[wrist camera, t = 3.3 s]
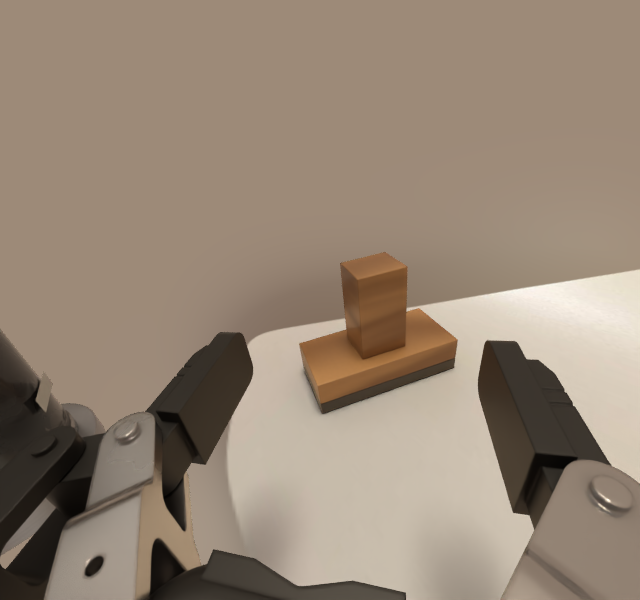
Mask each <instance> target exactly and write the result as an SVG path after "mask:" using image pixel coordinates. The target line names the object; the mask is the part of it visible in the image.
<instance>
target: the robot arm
mask: <svg viewBox="0 0 640 600" xmlns="http://www.w3.org/2000/svg"><path fill="white" fill-rule="evenodd" d="M252 375H253V364H252V361H251V358H250V355H249V351H248V348H247V345H246V342H245V339H244V336H243V335H242V334H241V333H233V332H232V333H231V332H220V333H218V334H217V335H216V337H215V338H214V339H213V340H212V342H211V343H210V344H209V345H208V346H205V347H203V348H202V349H201V350H199V351H198V352H196V353H195V354H194V355H193V356H192V357H191V358H190V359H189V360H188V362H187V363H186V364H185V366H184V368H182V369H181V370H180V371H179V372H178V373H177V376H176V377H174V378H173V379H172V381H171V382H170V383H169V384H168V385H167V387H166V388H165V389H164V390H163V391H162V393H161V394H160V395H159V396H158V397H157V398H156V400H155V401H154V402H153V403H152V404H151V406H150V407H149V408H148V409H147V410H146V411H145V412H138V413H134V414H131V415H128V416H126V417H124V418H123V419H121V420H119V421H118V422H116V423H115V424H114V425H112V426H111V427H110V428H109V429H108V430H107V432H106V433H102V434H96V435H91V436H86V437H81V436H80V435H79V433H78V424H77V422H76V420H75V419H74V418H73V417H72V415H71V414H70V413H69V412H68V411H67V410H65V409H64V408H63V407H62V405H61V404H60V403H59V402H58V400H57V399H56V398H55V397H54V395H53V394H52V393H51V388H52V382H51V380H50V379H49V378H48V377H47V375H46V374H45V373H43V376H42V379H40V378H39V377H38V375H37V374H36V373H35V371H34V370H33V369H32V368H31V367H30V365H29V364H28V363H27V362H26V360H25V359H24V358H23V357H22V355H21V354H20V353H19V352H18V350H17V349H16V348H15V347H14V345H13V344H12V343H11V342H10V341H9V339H8V338H7V337H6V336H5V334H4V333H3V332H2V331H1V329H0V556H1V553H2V550H3V548H4V547H5V545H6V543H7V542H8V541H9V540H10V539H11V537H12V536H13V535H14V534H15V533H16V532H17V530H18V529H19V528H20V527H21V526H22V525H23V523H24V522H25V521H26V520H27V519H28V518H29V516H30V515H31V514H32V513H33V512H34V511H35V509H36V508H37V507H38V506H39V505H40V504H41V503H42V501H43V500H44V499H45V498H46V499H47V500H48V501H49V502H50V503H51V504H52V505H53V506H55V507H56V508H55V510H54V511H53V512H52V513H51V514H50V516H49V517H48V518H47V519H46V521H45V522H44V523H43V524H42V526H41V527H40V528H39V529H38V530H37V532H36V533H35V534H34V535H33V537H32V538H31V539H30V540H29V542H28V543H27V544H26V545H25V546H24V548H23V549H22V550H21V551H20V553H19V554H18V555H17V556H16V558H15V559H14V560H13V561H12V562H11V564H10V565H9V566H8V567H7V568H6V569H4V568H2V566H1V565H0V600H406V593H405V592H400V591H396V590H391V589H387V588H382V587H378V586H374V585H369V584H365V583H360V582H356V581H346V582H337V583H329V584H320V585H312V586H297V585H295V584H293V583H291V582H290V581H288V580H287V579H285V578H284V577H282V576H281V575H279V574H278V573H276V572H275V571H273V570H272V569H270V568H269V567H267V566H265V565H264V564H262V563H261V562H259V561H258V560H256V559H254V558H250V557H245V556H240V555H236V554H232V553H227V552H223V551H219V550H213V552H212V554H211V556H210V559H209V561H208V564H206V565H202V566H201V562H200V558H199V554H198V551H197V548H196V546H195V542H194V537H193V527H192V514H191V502H190V488H189V477H188V474H187V472H186V471H187V469H188V467H189V466H190V464H191V463H197V464H204V465H205V464H206V463H207V461H208V459H209V457H210V455H211V454H212V452H213V450H214V448H215V446H216V444H217V443H218V441H219V439H220V437H221V435H222V433H223V431H224V430H225V428H226V426H227V424H228V422H229V420H230V419H231V417H232V415H233V413H234V411H235V409H236V408H237V406H238V404H239V402H240V400H241V398H242V397H243V395H244V393H245V391H246V389H247V387H248V386H249V384H250V382H251V379H252ZM478 392H479V398H480V402H481V405H482V408H483V412H484V415H485V419H486V422H487V425H488V429H489V432H490V436H491V439H492V442H493V446H494V449H495V453H496V456H497V459H498V463H499V466H500V470H501V473H502V477H503V480H504V483H505V487H506V490H507V494H508V497H509V500H510V504H511V507H512V511H513V513H518V514H525V515H530V518H531V521H532V524H533V527H534V532H533V534H532V537H531V539H530V541H529V543H528V545H527V547H526V549H525V551H524V553H523V555H522V557H521V559H520V561H519V563H518V565H517V567H516V569H515V571H514V573H513V575H512V577H511V579H510V581H509V583H508V585H507V587H506V589H505V591H504V594H503V596H502V598H501V600H640V484H639V483H638V482H637V481H636V480H634V479H633V478H631V477H630V476H629V475H627V474H626V473H624V472H622V471H620V470H619V469H616V468H614V467H612V466H611V464H610V463H609V461H608V460H607V458H606V457H605V455H604V453H603V452H602V450H601V448H600V447H599V445H598V444H597V442H596V440H595V439H594V437H593V435H592V434H591V432H590V430H589V429H588V427H587V426H586V424H585V422H584V421H583V419H582V417H581V416H580V414H579V412H578V411H577V409H576V408H575V406H573V403H572V401H571V399H570V398H569V396H568V394H567V393H565V392H564V388H563V386H562V385H561V383H560V381H559V380H558V378H557V376H556V375H555V373H553V372H552V371H551V370H550V369H549V368H547V367H546V366H545V365H544V364H542V363H541V362H540V361H539V360H527V359H526V358H525V356H524V354H523V352H522V350H521V348H520V346H519V345H518V343H517V342H515V341H488V340H487V341H486V342H485V345H484V350H483V355H482V360H481V366H480V371H479V377H478Z"/></svg>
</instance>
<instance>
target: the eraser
mask: <svg viewBox="0 0 640 600" xmlns="http://www.w3.org/2000/svg"><path fill="white" fill-rule="evenodd" d="M340 266H341V277H342V287H343V298H344V308H345V319H346V330H343V331H340V332H337V333H333V334H330V335H327V336H323V337H320V338H316V339H313V340H310V341H306V342H303V343H300V344H299V345H300V350H301V355H302V360H303V366H304V370H305V372H306V375H307V377H308V380H309V382H310V385H311V387H312V389H313V392H314V394H315V397H316V399H317V402H318V404H319V407H320V409H321V412H322V413H326V412H329V411H332V410H335V409H337V408H340V407H343V406H346V405H349V404H352V403H354V402H357V401H360V400H363V399H366V398H369V397H371V396H374V395H377V394H380V393H383V392H386V391H389V390H391V389H394V388H397V387H400V386H403V385H406V384H408V383H411V382H414V381H417V380H420V379H423V378H426V377H428V376H431V375H434V374H437V373H440V372H443V371H445V370H448V369H451V368H454V363H455V355H456V348H457V339H456V338H455V337H454V336H452V335H451V334H450V333H449V332H448V331H446V330H445V329H444V328H443V327H441V326H440V325H439V324H438V323H436V322H435V321H434V320H433V319H432V318H430V317H429V316H428V315H427V314H425V313H424V312H423V311H422V310H420V309H419V308H418V309H414V310H411V311H408V312H406V304H407V266H406V265H404V264H403V263H401V262H400V261H398V260H396V259H395V258H393V257H392V256H390V255H389V254H387V253H386V252H383V253H379V254H375V255H371V256H367V257H363V258H359V259H355V260H351V261H347V262H343V263H340Z"/></svg>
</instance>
